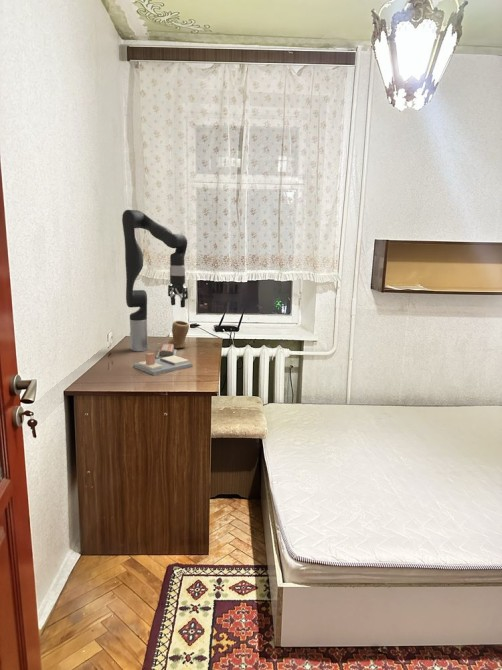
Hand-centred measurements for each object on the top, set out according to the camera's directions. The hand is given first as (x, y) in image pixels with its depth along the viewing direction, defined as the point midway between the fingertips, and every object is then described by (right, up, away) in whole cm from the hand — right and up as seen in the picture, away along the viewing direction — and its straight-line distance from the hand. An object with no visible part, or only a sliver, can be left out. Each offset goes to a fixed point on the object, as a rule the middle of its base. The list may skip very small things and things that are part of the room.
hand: (177, 306), depth 226 cm
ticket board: (-5, -30, -10) cm, 32 cm away
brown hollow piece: (-5, -22, +30) cm, 37 cm away
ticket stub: (-11, -29, -16) cm, 35 cm away
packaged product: (-8, -26, +12) cm, 30 cm away
